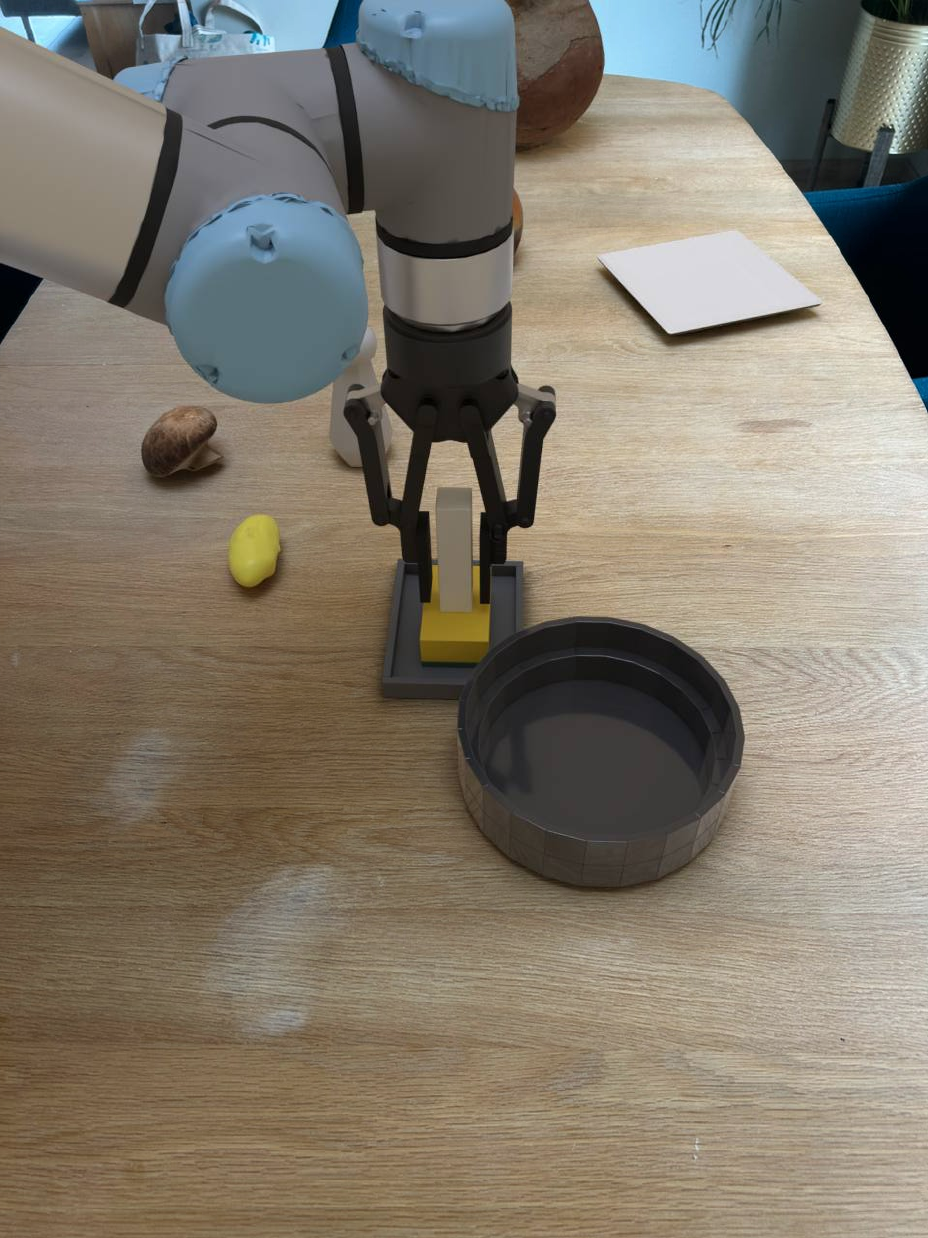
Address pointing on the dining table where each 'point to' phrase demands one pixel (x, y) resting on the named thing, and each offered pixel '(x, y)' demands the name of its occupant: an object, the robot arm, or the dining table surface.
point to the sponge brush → (454, 590)
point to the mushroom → (180, 441)
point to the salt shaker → (354, 374)
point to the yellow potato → (254, 550)
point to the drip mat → (405, 628)
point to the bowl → (598, 750)
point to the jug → (554, 66)
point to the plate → (707, 282)
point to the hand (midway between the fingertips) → (455, 590)
